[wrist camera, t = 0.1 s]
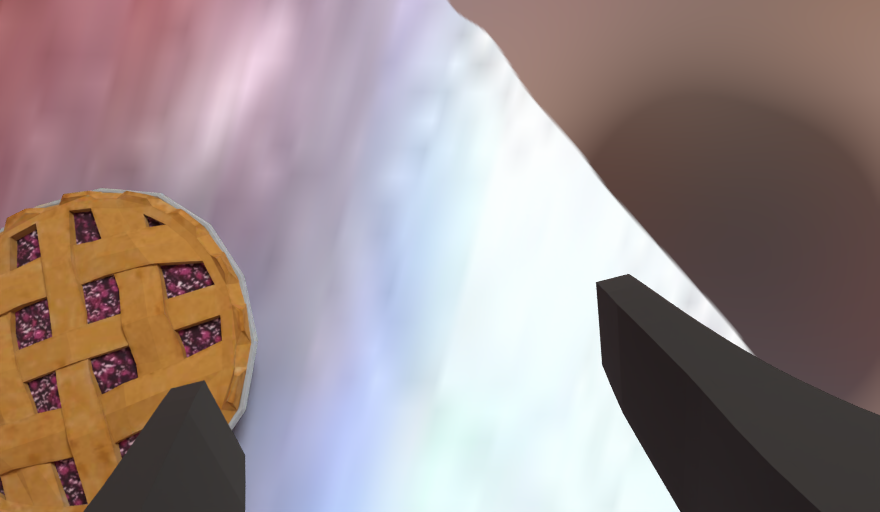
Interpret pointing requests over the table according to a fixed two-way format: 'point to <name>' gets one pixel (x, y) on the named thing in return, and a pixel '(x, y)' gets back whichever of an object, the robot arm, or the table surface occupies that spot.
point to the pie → (108, 336)
